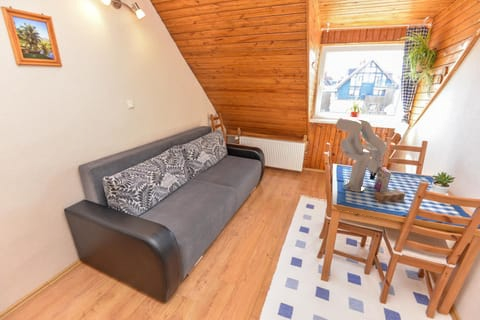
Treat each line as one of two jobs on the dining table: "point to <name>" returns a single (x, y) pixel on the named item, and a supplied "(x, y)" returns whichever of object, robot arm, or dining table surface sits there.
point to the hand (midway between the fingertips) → (371, 179)
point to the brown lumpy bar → (389, 195)
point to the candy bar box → (382, 179)
